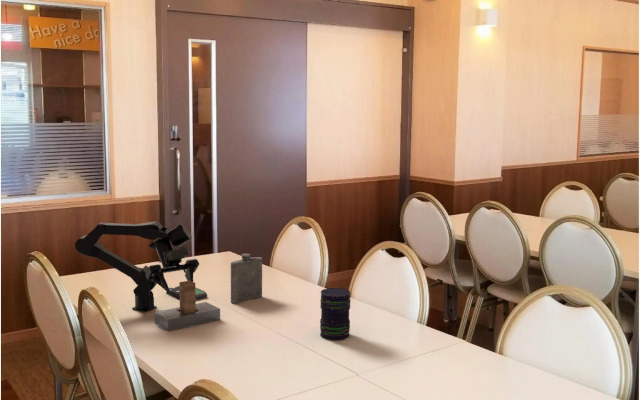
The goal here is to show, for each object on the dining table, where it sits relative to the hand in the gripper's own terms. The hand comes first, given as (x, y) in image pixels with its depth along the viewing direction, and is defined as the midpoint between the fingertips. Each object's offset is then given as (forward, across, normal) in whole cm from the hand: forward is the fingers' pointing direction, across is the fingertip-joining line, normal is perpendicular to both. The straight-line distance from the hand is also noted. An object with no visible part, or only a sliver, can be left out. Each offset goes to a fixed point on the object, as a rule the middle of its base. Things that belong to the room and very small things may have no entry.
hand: (180, 289), depth 237 cm
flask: (+4, +30, +12) cm, 33 cm away
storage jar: (+40, +33, -25) cm, 57 cm away
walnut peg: (+11, 0, +4) cm, 12 cm away
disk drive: (-9, +14, +25) cm, 30 cm away
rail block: (+11, 0, +4) cm, 11 cm away
